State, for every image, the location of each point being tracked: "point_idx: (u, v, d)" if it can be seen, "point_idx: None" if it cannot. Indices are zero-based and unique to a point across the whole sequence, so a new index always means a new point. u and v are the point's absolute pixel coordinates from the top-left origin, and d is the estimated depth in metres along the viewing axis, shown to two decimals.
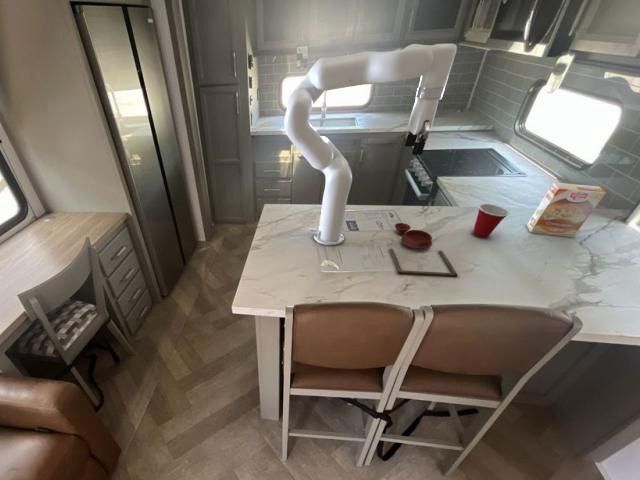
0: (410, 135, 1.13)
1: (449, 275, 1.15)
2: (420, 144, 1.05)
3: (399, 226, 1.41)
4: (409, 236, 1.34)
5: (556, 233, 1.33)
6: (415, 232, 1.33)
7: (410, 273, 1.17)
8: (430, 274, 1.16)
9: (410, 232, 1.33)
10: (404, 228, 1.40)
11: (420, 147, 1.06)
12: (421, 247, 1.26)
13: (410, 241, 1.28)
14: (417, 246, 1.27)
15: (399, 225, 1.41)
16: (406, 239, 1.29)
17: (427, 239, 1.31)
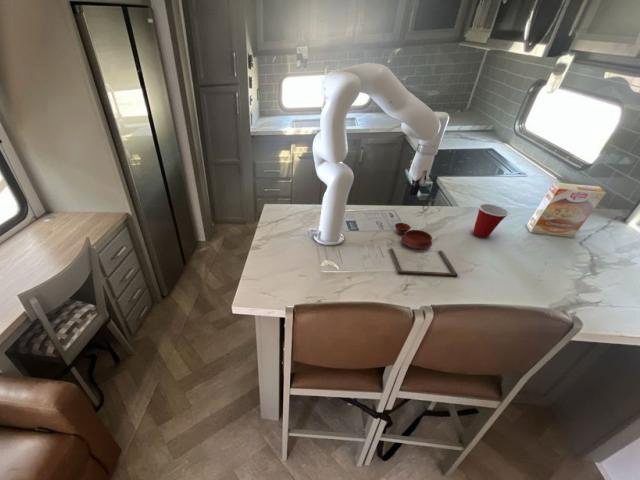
0: None
1: (449, 275, 1.15)
2: (416, 187, 1.32)
3: (399, 226, 1.41)
4: (409, 236, 1.34)
5: (556, 233, 1.33)
6: (415, 232, 1.33)
7: (410, 273, 1.17)
8: (430, 274, 1.16)
9: (410, 232, 1.33)
10: (404, 228, 1.40)
11: (416, 189, 1.32)
12: (421, 247, 1.26)
13: (410, 241, 1.28)
14: (417, 246, 1.27)
15: (399, 225, 1.41)
16: (406, 239, 1.29)
17: (427, 239, 1.31)
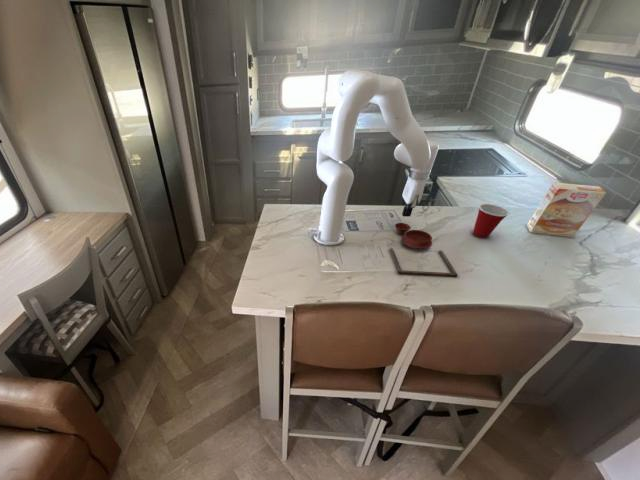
0: None
1: (449, 275, 1.15)
2: (408, 209, 1.38)
3: (399, 226, 1.41)
4: (409, 236, 1.34)
5: (556, 233, 1.33)
6: (415, 232, 1.33)
7: (410, 273, 1.17)
8: (430, 274, 1.16)
9: (410, 232, 1.33)
10: (404, 228, 1.40)
11: (409, 211, 1.39)
12: (421, 247, 1.26)
13: (410, 241, 1.28)
14: (417, 246, 1.27)
15: (399, 225, 1.41)
16: (406, 239, 1.29)
17: (427, 239, 1.31)
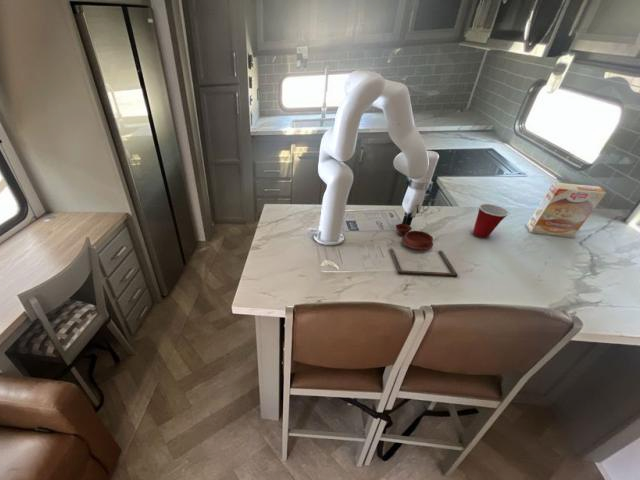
0: None
1: (449, 275, 1.15)
2: (408, 219, 1.38)
3: (400, 227, 1.40)
4: (410, 237, 1.33)
5: (556, 233, 1.33)
6: (416, 233, 1.33)
7: (410, 273, 1.17)
8: (430, 274, 1.16)
9: (411, 233, 1.33)
10: (405, 229, 1.39)
11: (409, 221, 1.39)
12: (422, 248, 1.26)
13: (411, 242, 1.27)
14: (418, 247, 1.26)
15: (400, 226, 1.40)
16: (407, 240, 1.29)
17: (428, 240, 1.30)
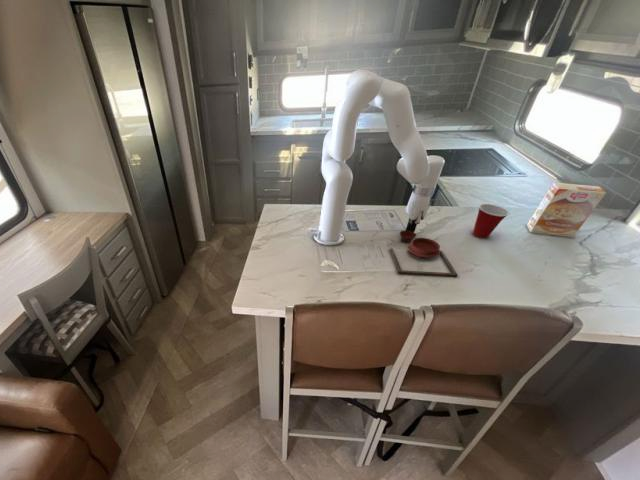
0: None
1: (449, 275, 1.15)
2: (413, 225, 1.34)
3: (404, 234, 1.35)
4: (415, 244, 1.29)
5: (556, 233, 1.33)
6: (422, 240, 1.28)
7: (410, 273, 1.17)
8: (430, 274, 1.16)
9: (416, 240, 1.28)
10: (409, 236, 1.35)
11: (413, 227, 1.34)
12: (429, 256, 1.21)
13: (417, 250, 1.23)
14: (425, 255, 1.22)
15: (404, 233, 1.35)
16: (413, 248, 1.24)
17: (434, 247, 1.26)
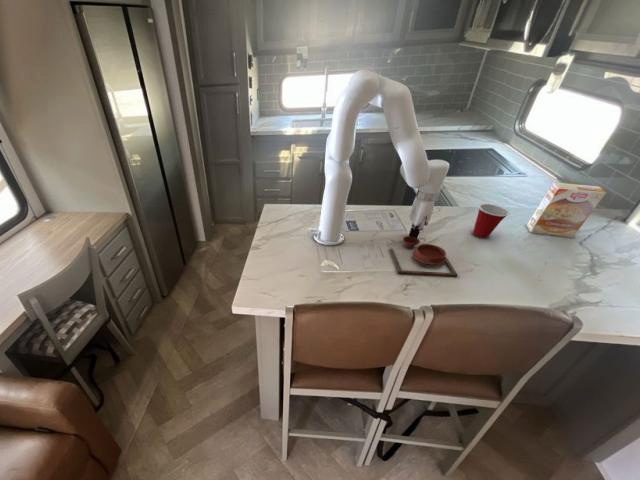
0: None
1: (449, 275, 1.15)
2: (416, 231, 1.30)
3: (407, 240, 1.32)
4: (420, 251, 1.25)
5: (556, 233, 1.33)
6: (426, 246, 1.25)
7: (410, 273, 1.17)
8: (430, 274, 1.16)
9: (421, 247, 1.24)
10: (412, 242, 1.31)
11: (416, 233, 1.30)
12: (436, 263, 1.18)
13: (423, 257, 1.19)
14: (431, 262, 1.18)
15: (407, 239, 1.32)
16: (419, 255, 1.20)
17: (440, 253, 1.22)
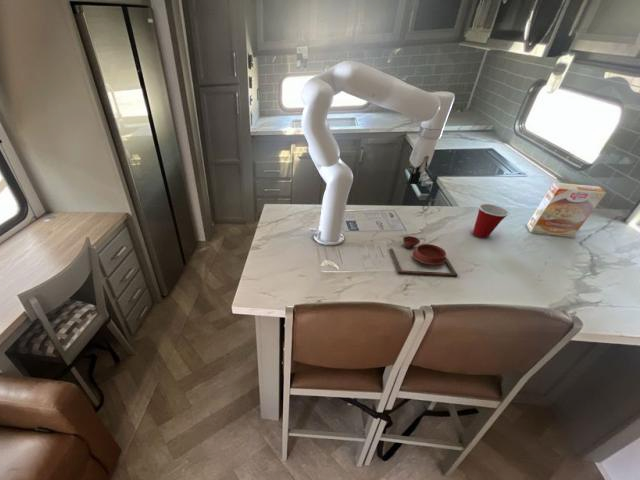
0: None
1: (449, 275, 1.15)
2: (416, 176, 1.22)
3: (407, 240, 1.32)
4: (420, 251, 1.25)
5: (556, 233, 1.33)
6: (427, 246, 1.25)
7: (410, 273, 1.17)
8: (430, 274, 1.16)
9: (421, 247, 1.24)
10: (412, 242, 1.31)
11: (416, 178, 1.23)
12: (436, 263, 1.18)
13: (423, 257, 1.19)
14: (431, 262, 1.18)
15: (407, 239, 1.32)
16: (419, 255, 1.20)
17: (440, 253, 1.22)
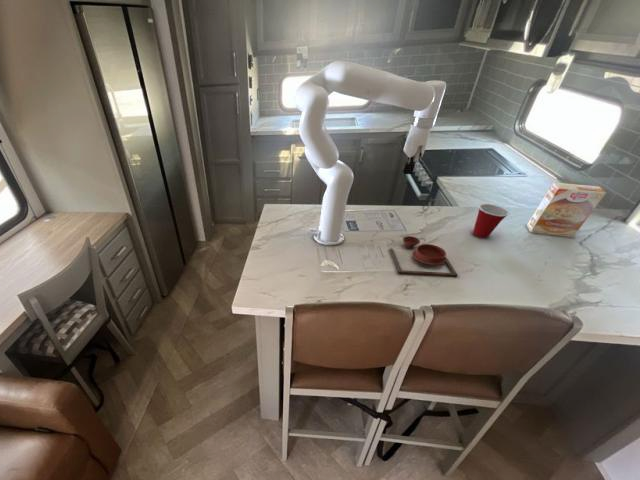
0: None
1: (449, 275, 1.15)
2: (410, 165, 1.23)
3: (407, 240, 1.32)
4: (420, 251, 1.25)
5: (556, 233, 1.33)
6: (427, 246, 1.25)
7: (410, 273, 1.17)
8: (430, 274, 1.16)
9: (421, 247, 1.24)
10: (412, 242, 1.31)
11: (410, 168, 1.24)
12: (436, 263, 1.18)
13: (423, 257, 1.19)
14: (431, 262, 1.18)
15: (407, 239, 1.32)
16: (419, 255, 1.20)
17: (440, 253, 1.22)
